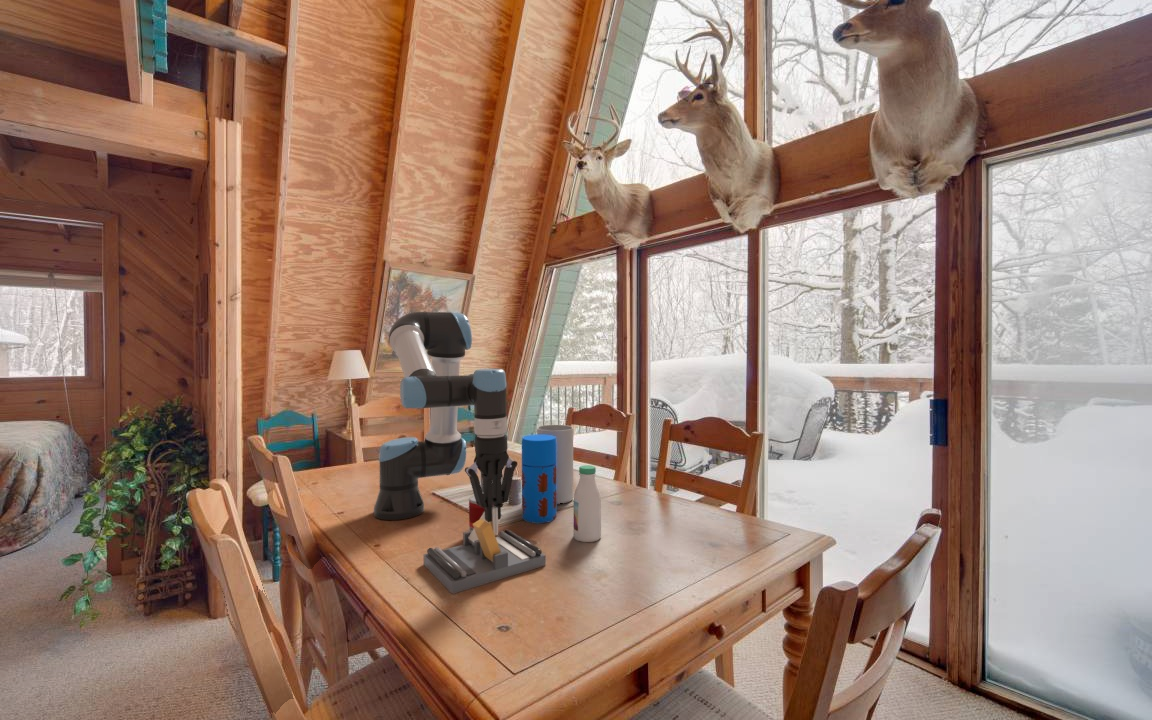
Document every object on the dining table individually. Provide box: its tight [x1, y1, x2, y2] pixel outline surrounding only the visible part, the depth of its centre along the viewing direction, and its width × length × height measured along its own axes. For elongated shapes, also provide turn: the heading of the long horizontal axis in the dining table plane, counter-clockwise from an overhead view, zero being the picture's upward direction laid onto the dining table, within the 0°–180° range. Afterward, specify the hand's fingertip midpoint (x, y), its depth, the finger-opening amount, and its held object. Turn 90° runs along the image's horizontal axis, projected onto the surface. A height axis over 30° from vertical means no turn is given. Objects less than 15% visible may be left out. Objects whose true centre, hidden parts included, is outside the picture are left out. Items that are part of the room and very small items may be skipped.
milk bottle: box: [573, 464, 602, 543], centre depth 142 cm, size 8×8×20 cm
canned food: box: [468, 495, 498, 537], centre depth 143 cm, size 8×8×11 cm
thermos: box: [521, 434, 558, 524], centre depth 158 cm, size 11×11×25 cm
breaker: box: [468, 511, 504, 547], centre depth 130 cm, size 5×2×10 cm
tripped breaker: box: [473, 519, 501, 562], centre depth 120 cm, size 5×2×10 cm, turn 36°
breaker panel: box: [423, 528, 547, 595], centre depth 125 cm, size 18×24×6 cm
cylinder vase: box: [536, 424, 574, 505], centre depth 176 cm, size 12×12×25 cm
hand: (493, 533), depth 120 cm, fingers closed
